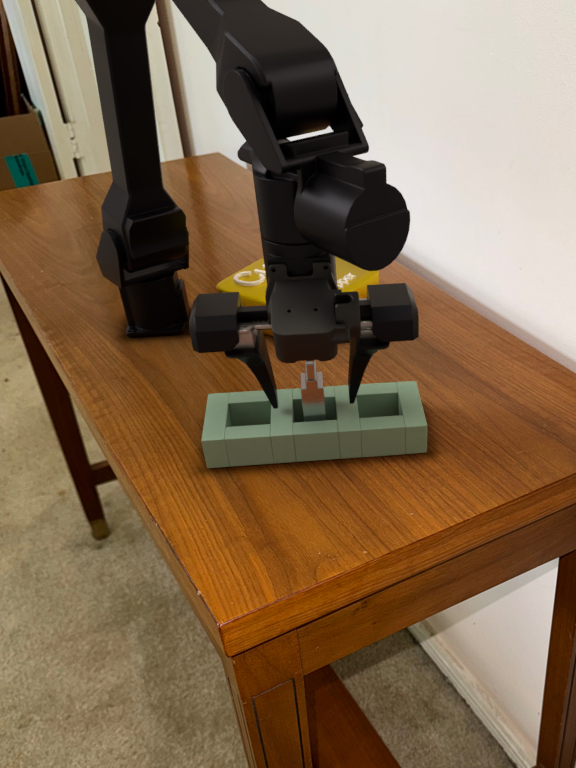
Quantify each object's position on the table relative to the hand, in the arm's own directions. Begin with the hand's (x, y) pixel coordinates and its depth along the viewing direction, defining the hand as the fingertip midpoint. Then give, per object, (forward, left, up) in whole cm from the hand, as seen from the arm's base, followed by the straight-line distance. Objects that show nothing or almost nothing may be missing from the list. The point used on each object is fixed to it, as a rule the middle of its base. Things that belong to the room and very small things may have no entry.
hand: (313, 403), depth 70 cm
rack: (0, 0, -4) cm, 4 cm away
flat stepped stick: (0, 0, -4) cm, 4 cm away
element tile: (-1, +27, -4) cm, 28 cm away
